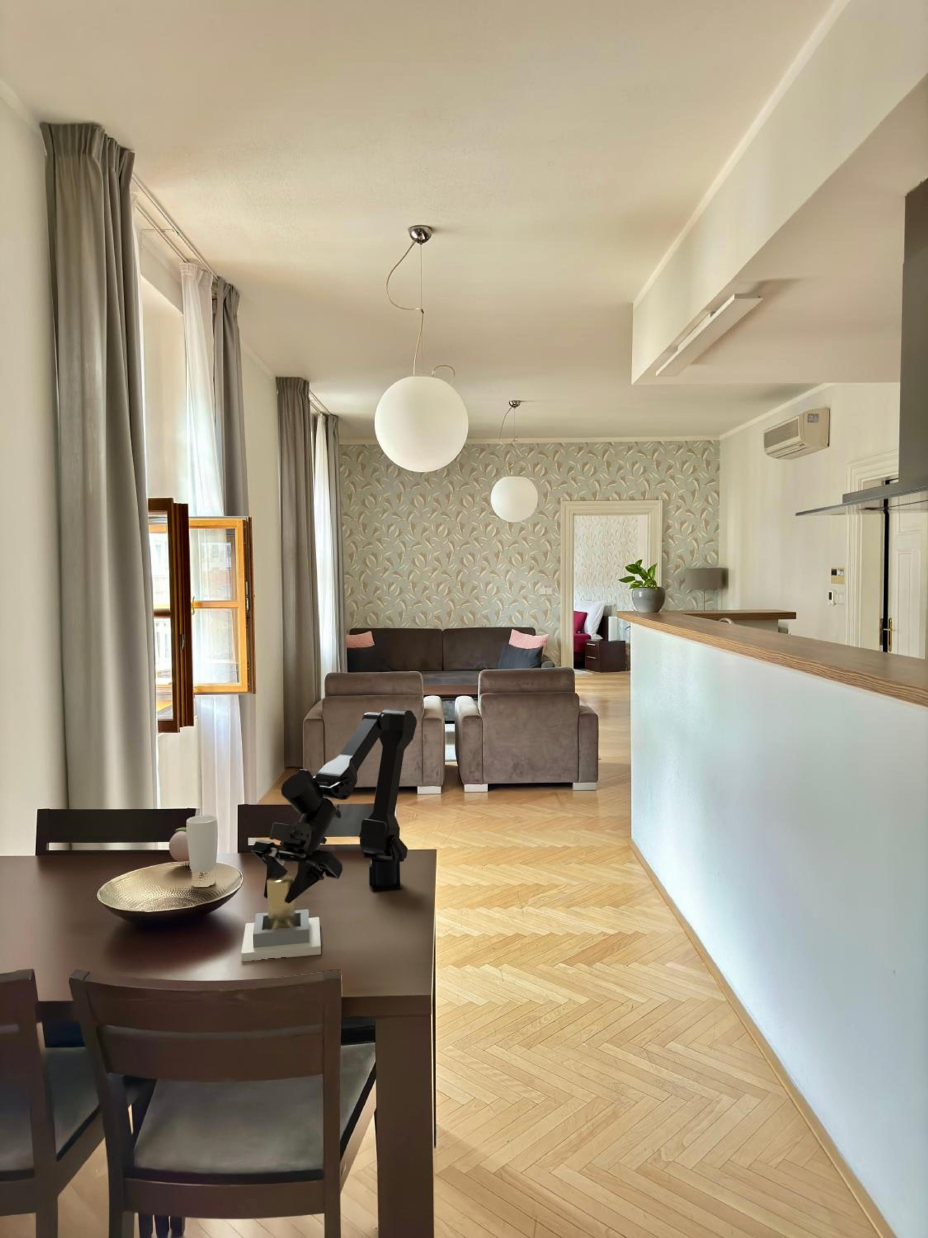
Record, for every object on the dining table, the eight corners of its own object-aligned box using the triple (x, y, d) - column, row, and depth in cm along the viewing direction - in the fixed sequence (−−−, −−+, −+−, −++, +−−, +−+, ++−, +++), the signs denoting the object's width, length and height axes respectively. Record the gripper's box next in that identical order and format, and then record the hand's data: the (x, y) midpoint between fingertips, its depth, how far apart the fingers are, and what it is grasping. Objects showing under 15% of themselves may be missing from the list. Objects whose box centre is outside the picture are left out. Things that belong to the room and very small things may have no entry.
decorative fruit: (161, 870, 205) (159, 828, 204) (183, 859, 212) (182, 819, 212) (193, 874, 202) (192, 832, 201) (215, 863, 209) (214, 822, 209)
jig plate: (319, 924, 170) (318, 904, 170) (320, 954, 157) (320, 932, 156) (246, 931, 168) (245, 910, 168) (241, 961, 154) (240, 939, 154)
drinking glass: (200, 892, 189) (198, 824, 189) (181, 886, 194) (179, 820, 193) (225, 883, 195) (223, 817, 194) (207, 877, 199) (205, 813, 198)
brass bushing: (288, 925, 166) (287, 873, 165) (300, 933, 162) (298, 880, 161) (264, 931, 163) (262, 879, 162) (274, 940, 159) (273, 886, 158)
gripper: (256, 799, 169) (216, 871, 160) (331, 810, 160) (293, 887, 151) (284, 828, 176) (247, 899, 167) (358, 840, 167) (323, 916, 158)
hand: (276, 900), depth 161 cm, fingers closed on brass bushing, 5 cm apart
